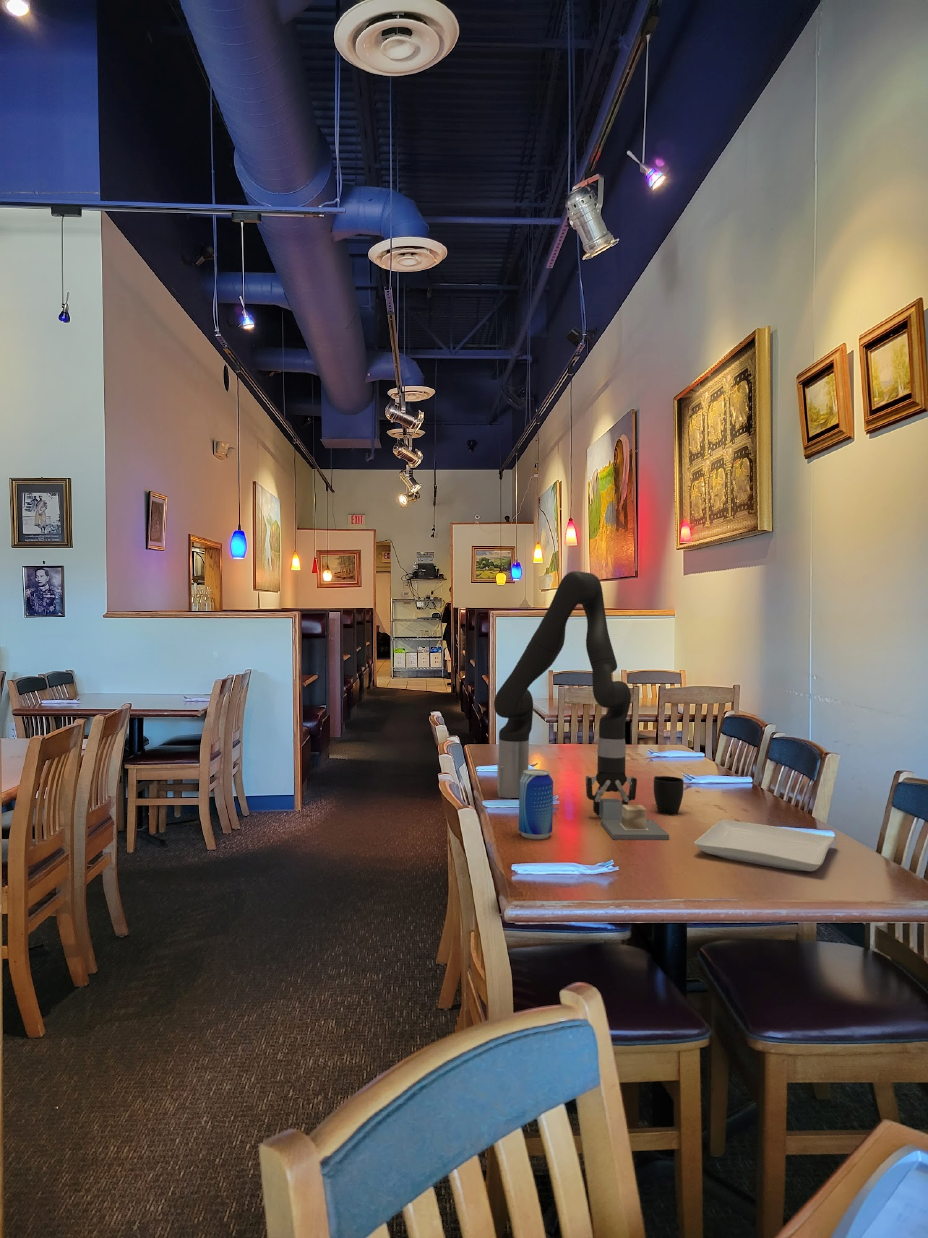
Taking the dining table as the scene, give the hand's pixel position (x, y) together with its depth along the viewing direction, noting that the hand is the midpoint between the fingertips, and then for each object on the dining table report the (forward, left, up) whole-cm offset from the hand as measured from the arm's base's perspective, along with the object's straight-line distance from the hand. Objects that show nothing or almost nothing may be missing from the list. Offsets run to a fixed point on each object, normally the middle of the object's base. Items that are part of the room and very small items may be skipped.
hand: (610, 814), depth 210 cm
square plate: (+30, -30, -2) cm, 42 cm away
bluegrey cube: (0, 0, -1) cm, 1 cm away
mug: (+18, +9, -1) cm, 20 cm away
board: (+3, -13, -1) cm, 13 cm away
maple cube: (+3, -13, 0) cm, 13 cm away
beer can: (-23, -17, -1) cm, 29 cm away
